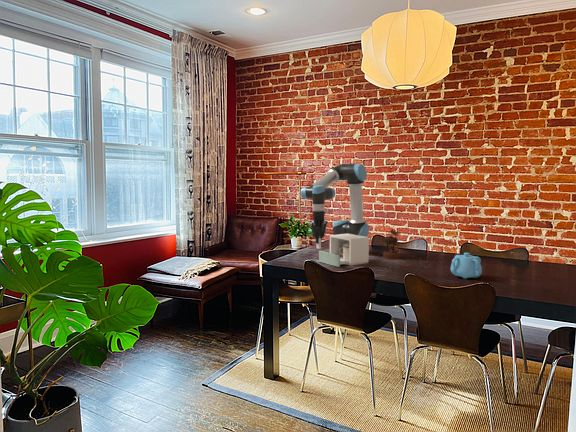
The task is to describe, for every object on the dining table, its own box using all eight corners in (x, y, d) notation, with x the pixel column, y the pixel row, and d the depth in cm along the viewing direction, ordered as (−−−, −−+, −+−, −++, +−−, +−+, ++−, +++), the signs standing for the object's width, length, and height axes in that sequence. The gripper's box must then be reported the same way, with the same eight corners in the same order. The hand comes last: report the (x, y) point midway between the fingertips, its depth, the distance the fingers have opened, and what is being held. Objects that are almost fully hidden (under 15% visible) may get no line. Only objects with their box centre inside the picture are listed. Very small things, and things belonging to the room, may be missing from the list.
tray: (318, 261, 281) (318, 250, 280) (345, 257, 294) (346, 247, 294) (338, 266, 265) (338, 255, 264) (366, 262, 279) (366, 251, 278)
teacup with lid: (359, 258, 282) (359, 241, 281) (352, 261, 275) (353, 242, 274) (342, 256, 289) (343, 239, 288) (336, 258, 282) (336, 241, 280)
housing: (329, 260, 286) (329, 235, 285) (347, 257, 296) (347, 233, 294) (350, 265, 270) (350, 239, 269) (368, 262, 279) (369, 237, 278)
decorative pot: (484, 276, 246) (485, 252, 245) (478, 281, 233) (479, 256, 232) (454, 272, 255) (455, 249, 254) (447, 277, 242) (448, 253, 241)
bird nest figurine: (403, 257, 297) (403, 229, 293) (396, 261, 288) (396, 232, 285) (383, 254, 306) (383, 227, 303) (376, 258, 298) (375, 230, 295)
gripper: (314, 211, 258) (314, 250, 261) (330, 210, 265) (330, 248, 268) (306, 210, 264) (306, 248, 267) (322, 209, 271) (322, 246, 274)
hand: (318, 248), depth 267 cm, fingers closed
